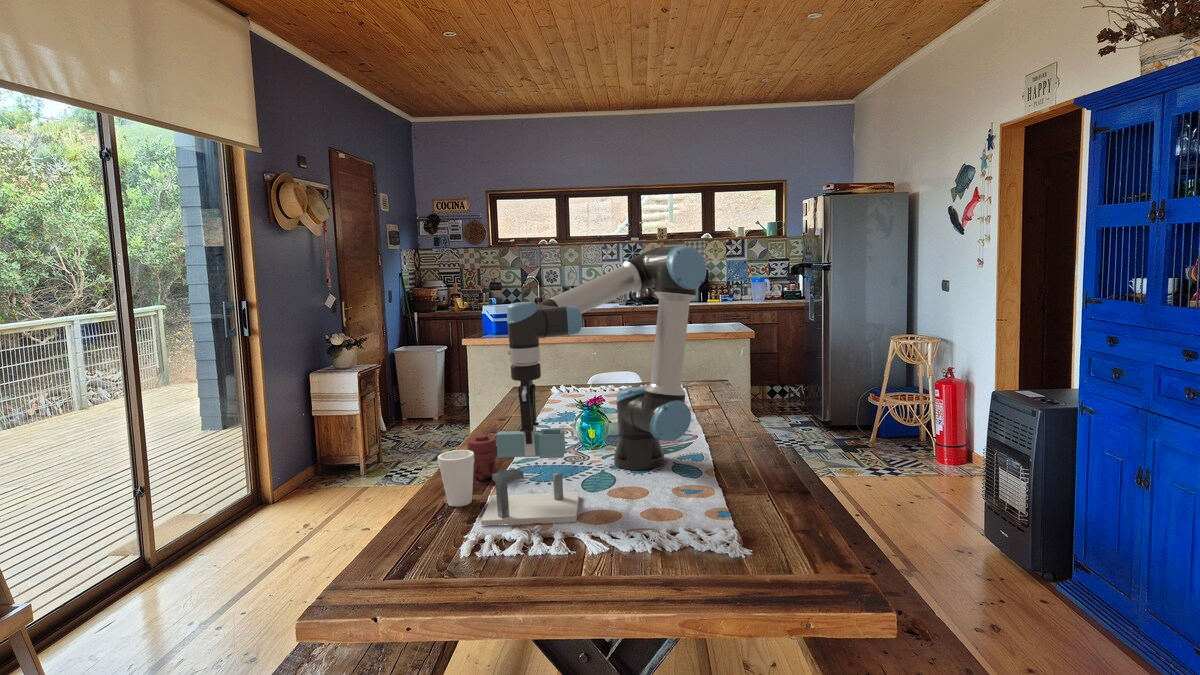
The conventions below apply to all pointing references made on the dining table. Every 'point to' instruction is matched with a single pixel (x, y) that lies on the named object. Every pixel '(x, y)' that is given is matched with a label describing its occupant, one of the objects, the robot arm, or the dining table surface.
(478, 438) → the mechanical component
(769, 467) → the dining table surface
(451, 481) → the foam cup
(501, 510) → the block
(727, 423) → the dining table surface
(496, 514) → the board
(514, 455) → the link
